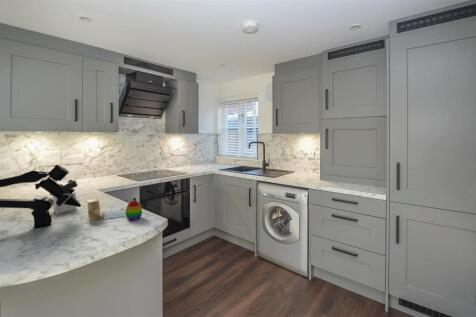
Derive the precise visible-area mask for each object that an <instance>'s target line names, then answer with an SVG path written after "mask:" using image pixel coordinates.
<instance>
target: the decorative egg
mask: <svg viewBox="0 0 476 317" xmlns="http://www.w3.org/2000/svg"><path fill="white" fill-rule="evenodd" d="M125 211H126V217H125V218H127V219H128V220H129V221H138V220H140V219H141V217H142V215H143V209H142V205H141V204H140V202H138V201H137V200H131V201H129V203H128V204H127V205H126V208H125Z"/></svg>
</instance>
